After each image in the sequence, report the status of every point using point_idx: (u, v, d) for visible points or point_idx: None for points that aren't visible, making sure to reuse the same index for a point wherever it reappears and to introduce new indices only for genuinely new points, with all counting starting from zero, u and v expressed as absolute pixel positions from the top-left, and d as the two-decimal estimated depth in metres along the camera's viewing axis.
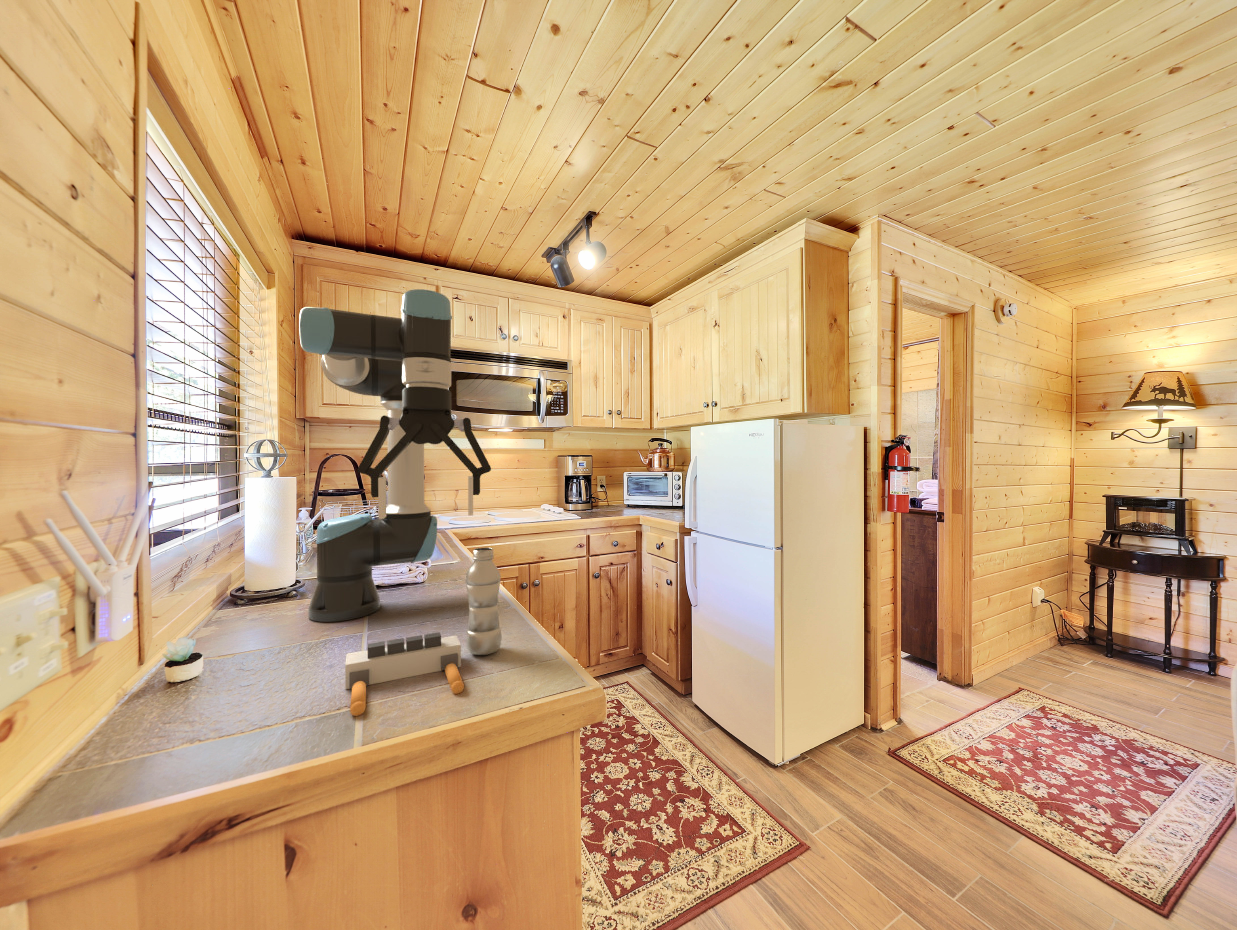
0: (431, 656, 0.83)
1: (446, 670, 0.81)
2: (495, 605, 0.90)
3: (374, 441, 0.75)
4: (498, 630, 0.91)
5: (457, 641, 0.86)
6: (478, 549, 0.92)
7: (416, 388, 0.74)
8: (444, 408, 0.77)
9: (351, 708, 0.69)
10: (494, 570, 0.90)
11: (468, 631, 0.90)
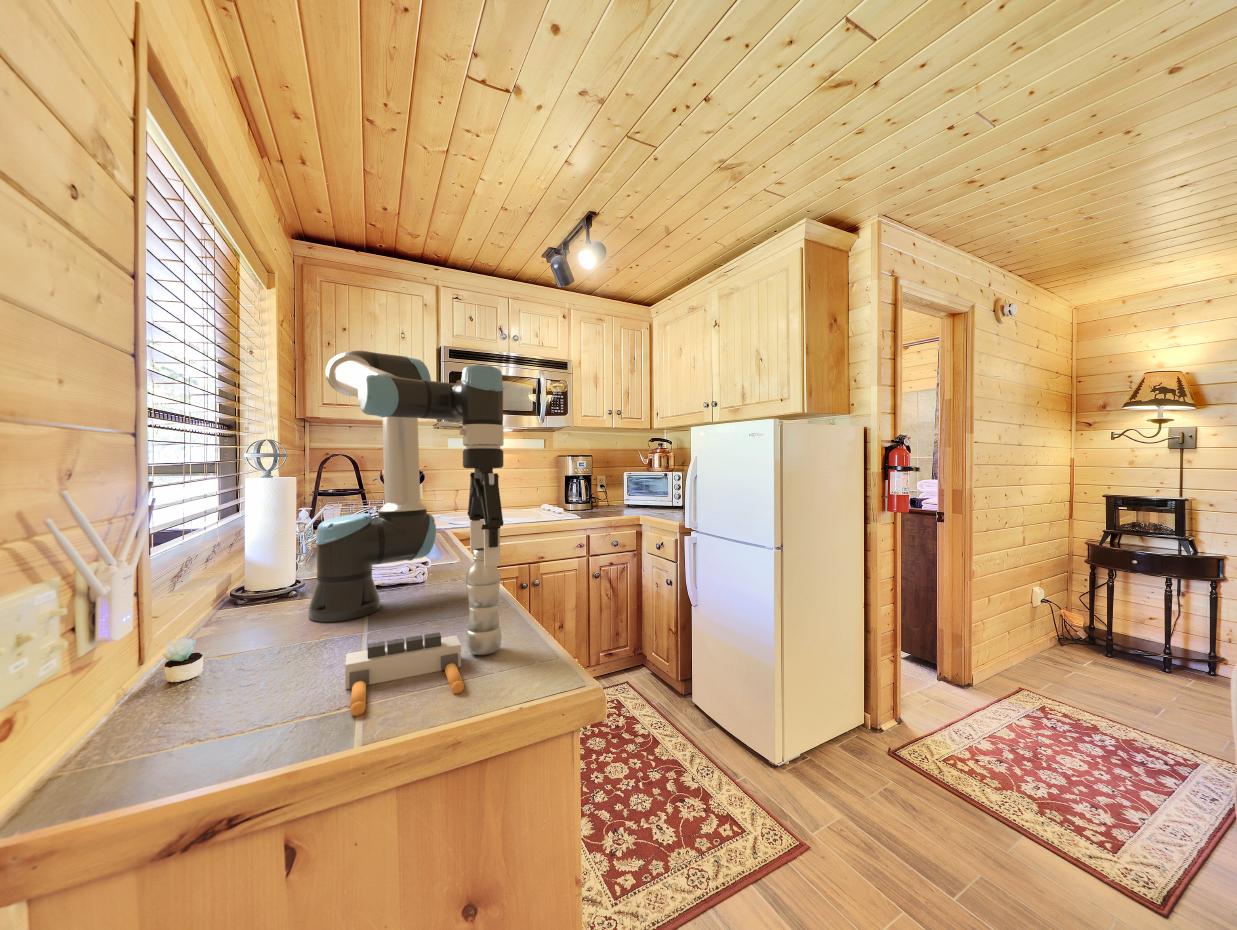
0: (431, 656, 0.83)
1: (446, 670, 0.81)
2: (495, 605, 0.90)
3: None
4: (498, 630, 0.91)
5: (457, 641, 0.86)
6: (478, 549, 0.92)
7: None
8: (473, 466, 0.87)
9: (351, 708, 0.69)
10: (494, 570, 0.90)
11: (468, 631, 0.90)
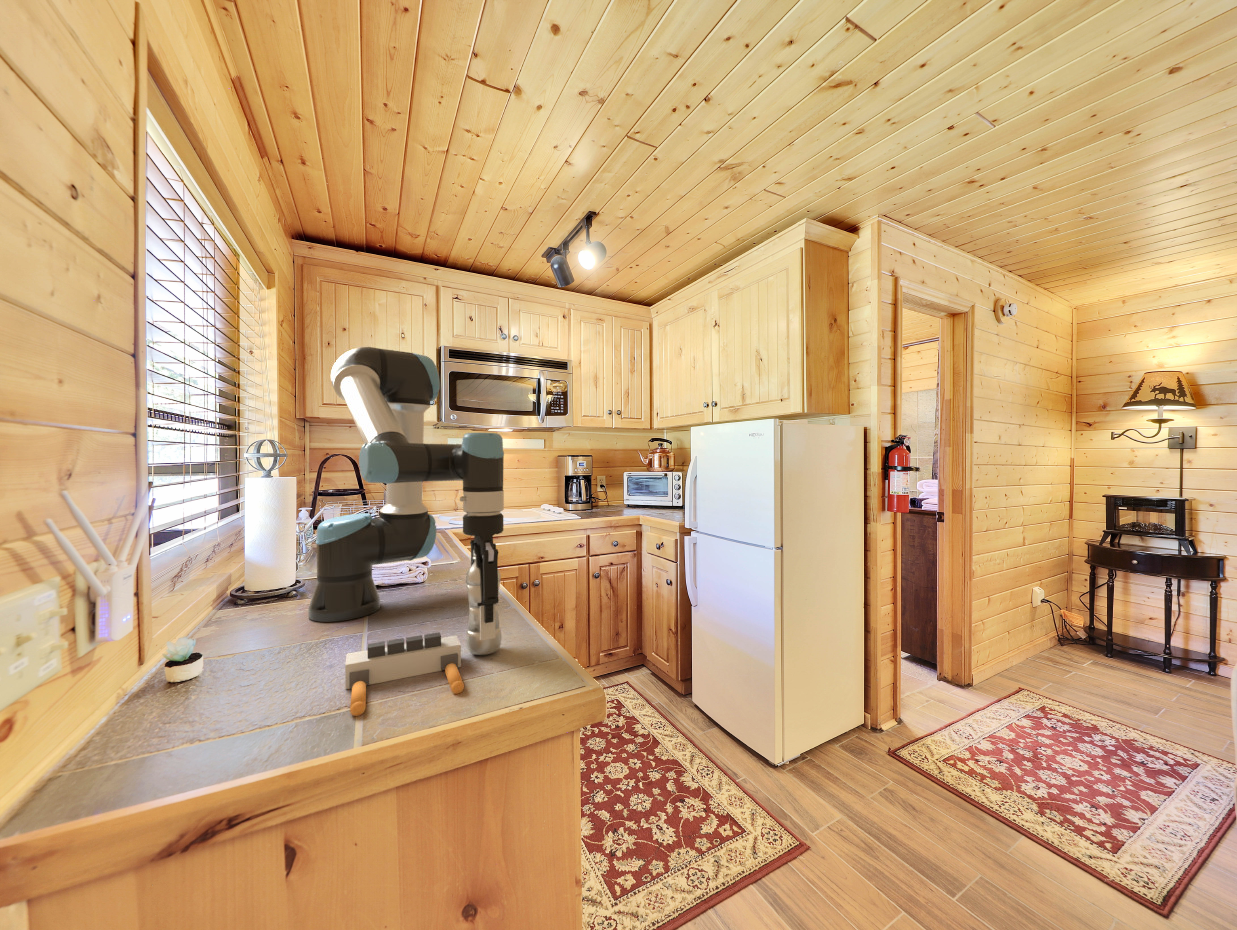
0: (431, 656, 0.83)
1: (446, 670, 0.81)
2: (495, 605, 0.90)
3: (471, 561, 0.96)
4: (498, 630, 0.91)
5: (457, 641, 0.86)
6: None
7: (463, 516, 0.90)
8: (473, 534, 0.87)
9: (351, 708, 0.69)
10: None
11: (468, 631, 0.90)
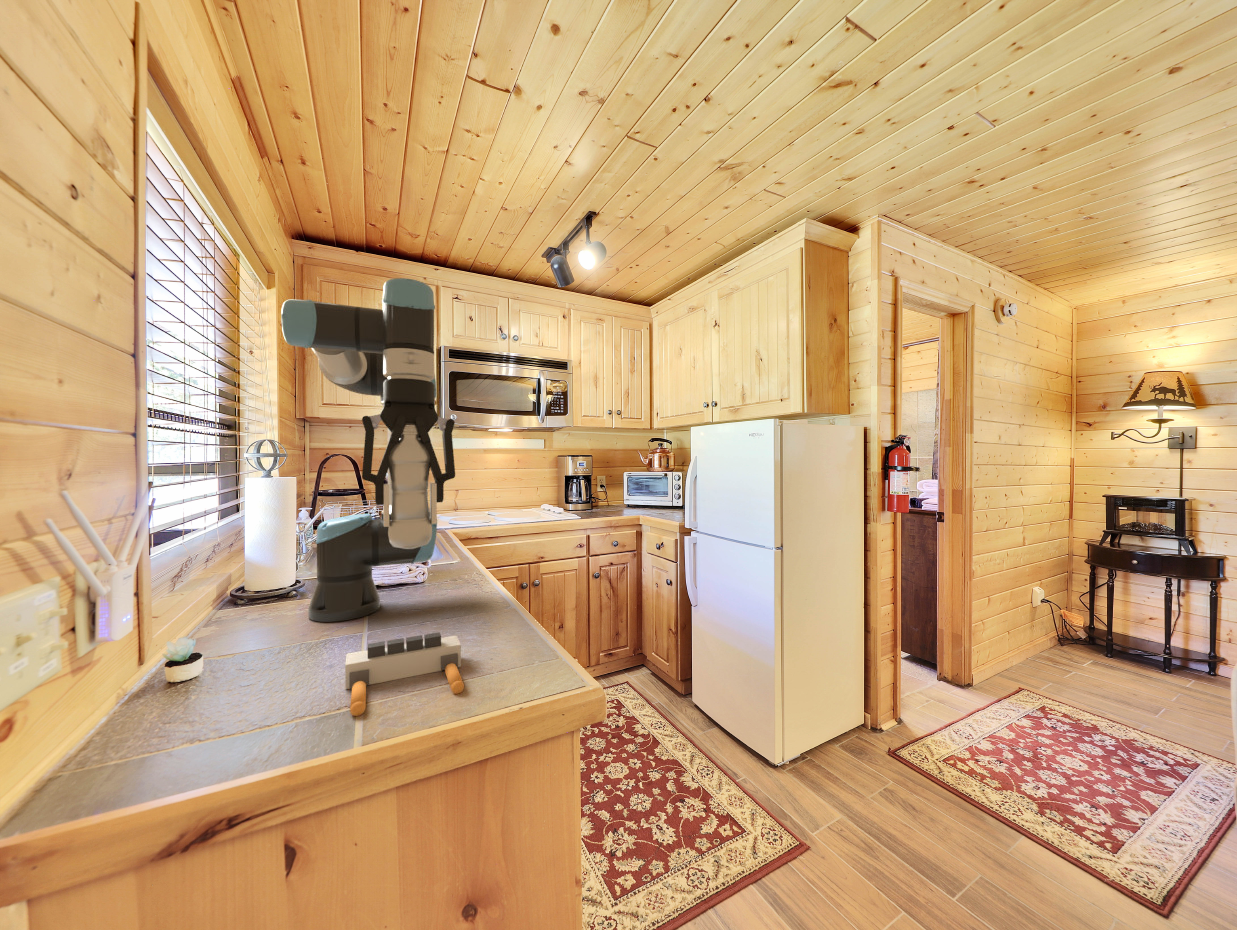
0: (431, 656, 0.83)
1: (446, 670, 0.81)
2: None
3: (366, 445, 0.72)
4: None
5: (457, 641, 0.86)
6: None
7: (401, 380, 0.72)
8: (429, 401, 0.75)
9: (351, 708, 0.69)
10: None
11: (412, 521, 0.73)
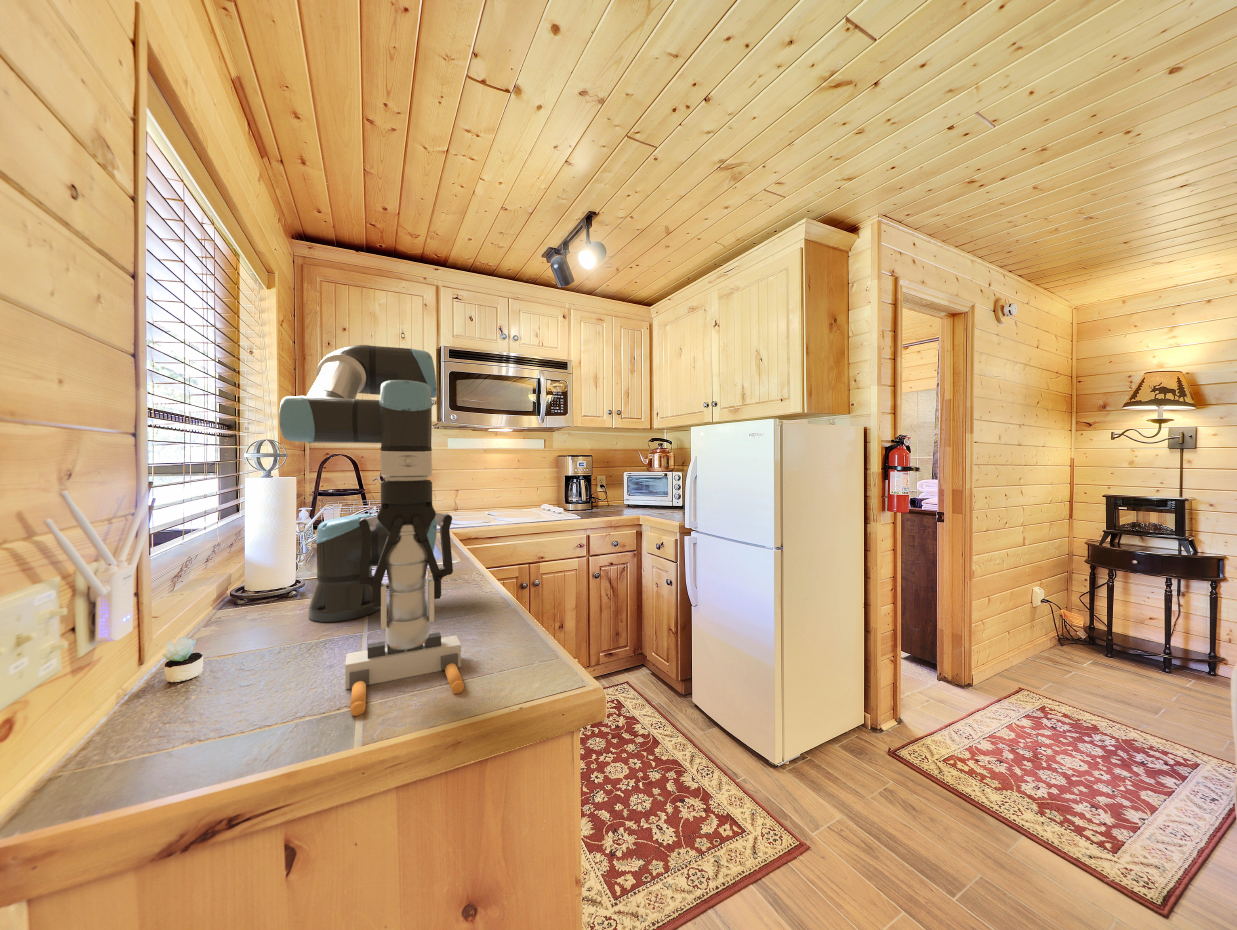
0: (431, 656, 0.83)
1: (446, 670, 0.81)
2: None
3: (363, 548, 0.72)
4: None
5: (457, 641, 0.86)
6: None
7: (398, 483, 0.72)
8: (427, 501, 0.75)
9: (351, 708, 0.69)
10: None
11: (410, 623, 0.73)
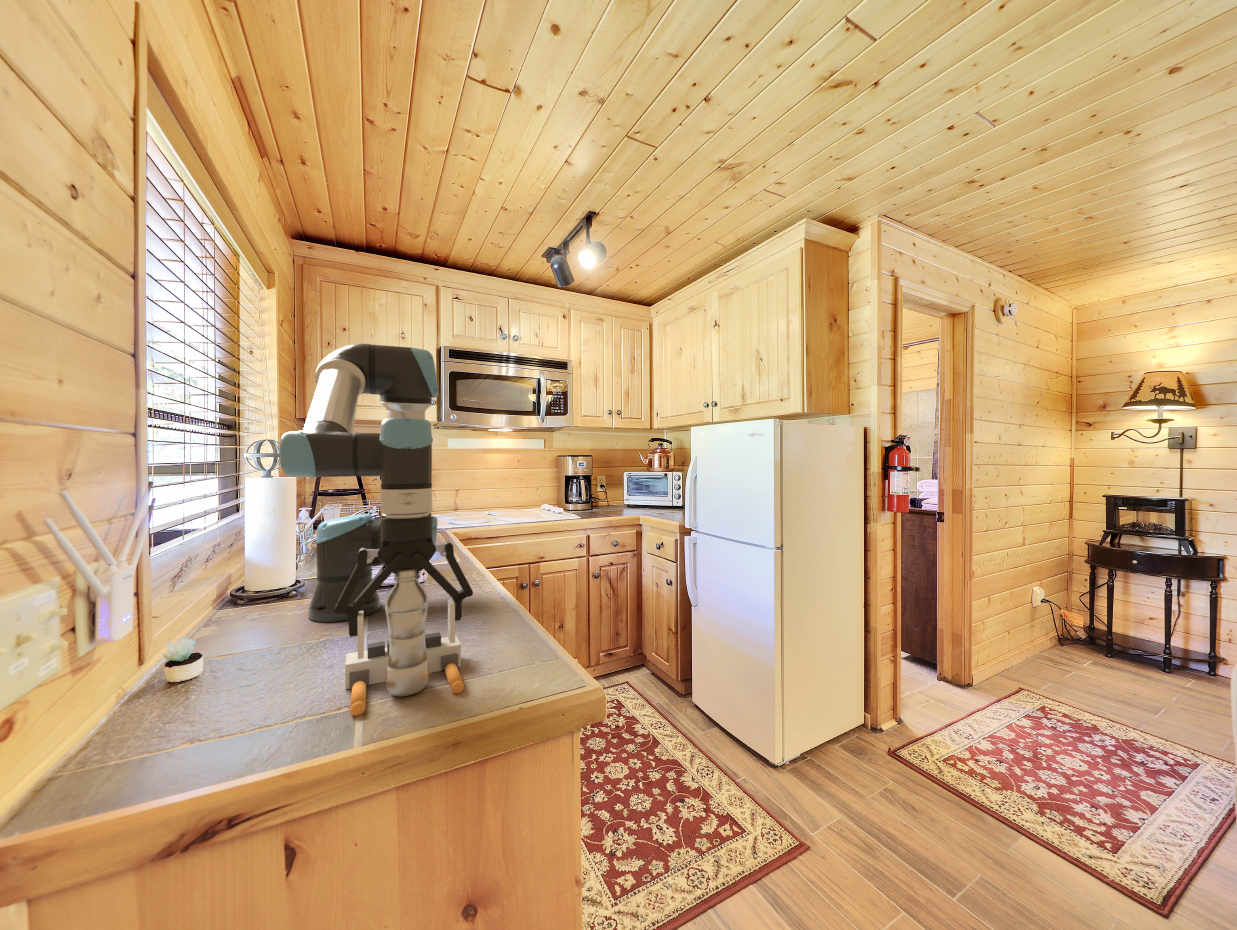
0: (431, 656, 0.83)
1: (446, 670, 0.81)
2: None
3: (352, 578, 0.71)
4: None
5: (457, 641, 0.86)
6: None
7: (398, 521, 0.72)
8: (427, 537, 0.75)
9: (351, 708, 0.69)
10: None
11: (410, 670, 0.73)
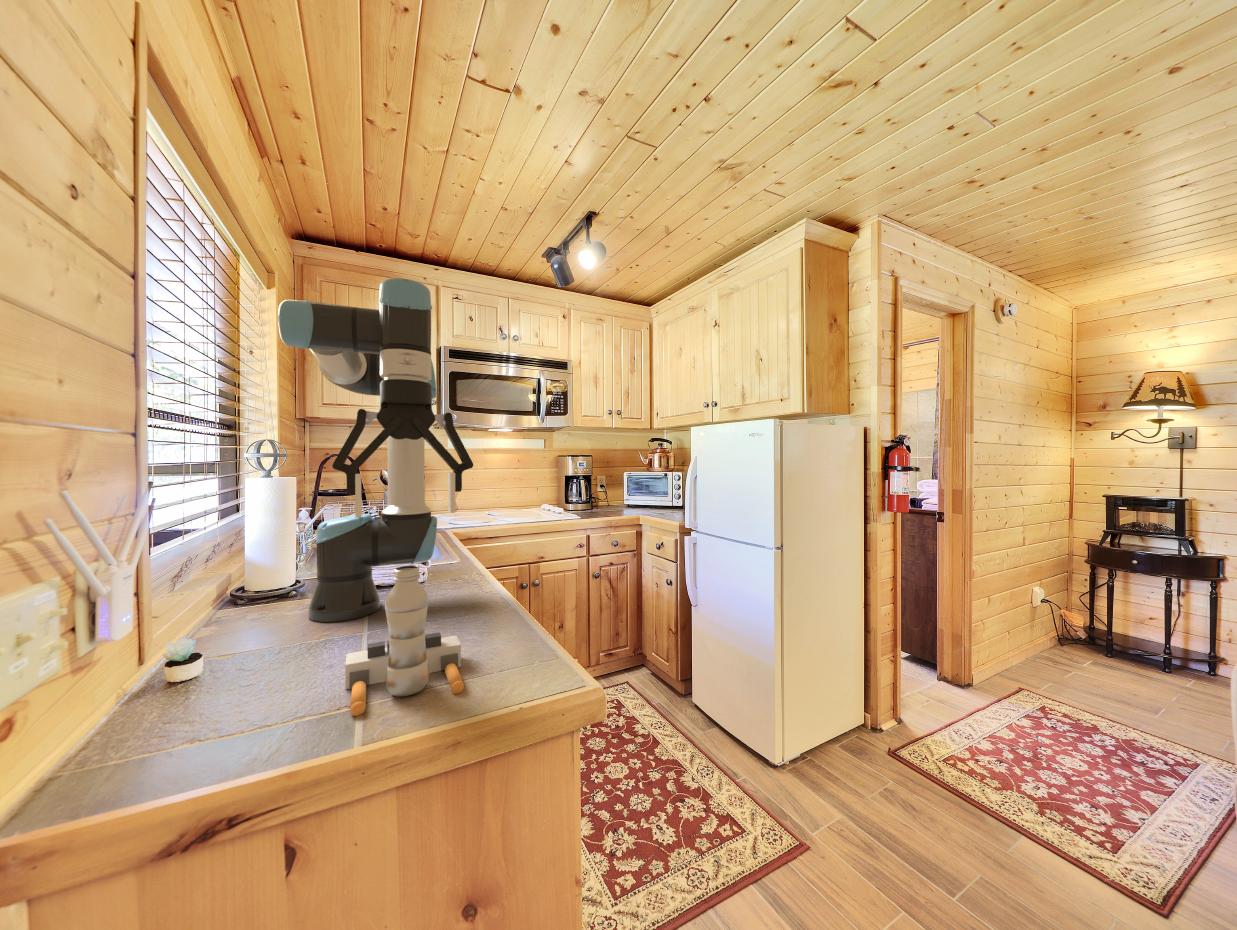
0: (431, 656, 0.83)
1: (446, 670, 0.81)
2: None
3: (350, 436, 0.71)
4: None
5: (457, 641, 0.86)
6: None
7: (398, 381, 0.72)
8: (426, 402, 0.74)
9: (351, 708, 0.69)
10: None
11: (410, 670, 0.73)
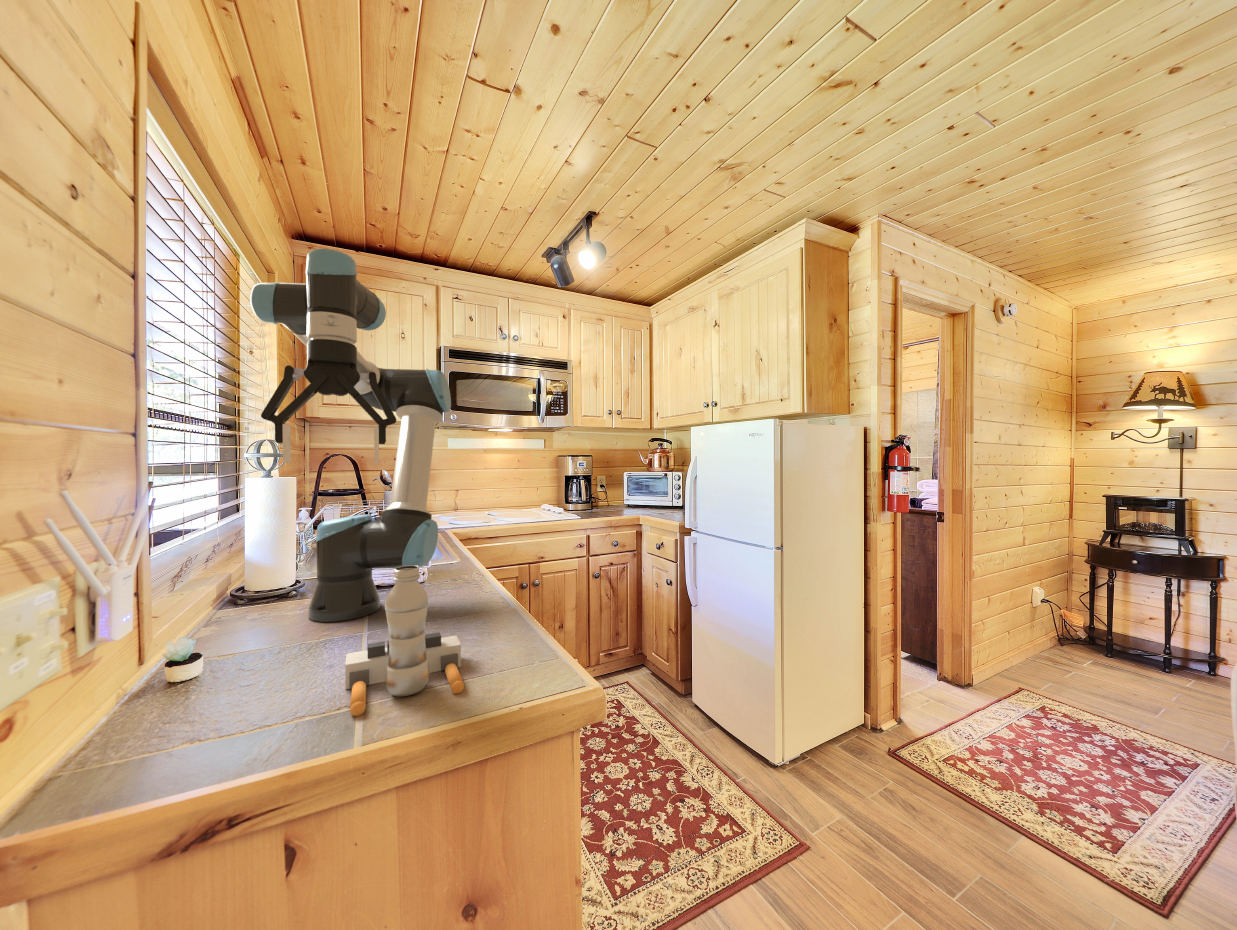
0: (431, 656, 0.83)
1: (446, 670, 0.81)
2: None
3: (278, 389, 0.79)
4: None
5: (457, 641, 0.86)
6: None
7: (321, 340, 0.80)
8: (350, 361, 0.82)
9: (351, 708, 0.69)
10: None
11: (410, 670, 0.73)
